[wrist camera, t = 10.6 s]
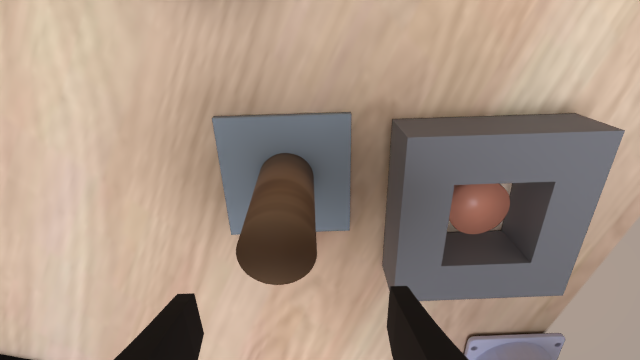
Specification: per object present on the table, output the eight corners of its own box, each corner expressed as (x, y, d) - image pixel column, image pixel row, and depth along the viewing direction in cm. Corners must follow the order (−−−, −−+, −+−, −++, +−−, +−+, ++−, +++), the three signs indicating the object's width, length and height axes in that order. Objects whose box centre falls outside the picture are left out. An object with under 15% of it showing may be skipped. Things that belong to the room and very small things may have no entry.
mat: (349, 227, 23) (349, 230, 23) (232, 231, 23) (231, 234, 23) (350, 112, 20) (351, 113, 19) (213, 116, 20) (211, 118, 19)
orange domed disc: (494, 223, 23) (503, 233, 22) (438, 225, 23) (445, 235, 22) (505, 172, 21) (516, 180, 20) (446, 174, 21) (453, 182, 20)
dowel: (313, 202, 22) (315, 284, 15) (260, 201, 22) (239, 284, 15) (314, 153, 20) (318, 220, 14) (257, 152, 20) (232, 219, 13)
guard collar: (530, 260, 25) (563, 295, 22) (382, 266, 25) (393, 302, 22) (575, 113, 20) (624, 130, 17) (392, 119, 20) (407, 137, 17)
